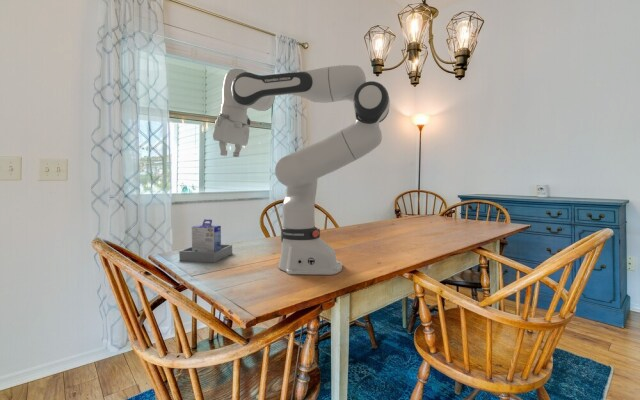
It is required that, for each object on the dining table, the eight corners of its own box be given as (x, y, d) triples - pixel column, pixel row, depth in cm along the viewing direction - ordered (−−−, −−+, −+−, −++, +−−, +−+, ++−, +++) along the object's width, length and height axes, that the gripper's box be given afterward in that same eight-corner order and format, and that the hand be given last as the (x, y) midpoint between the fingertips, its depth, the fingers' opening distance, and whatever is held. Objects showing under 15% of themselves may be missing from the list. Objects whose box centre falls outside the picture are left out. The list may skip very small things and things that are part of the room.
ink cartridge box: (222, 255, 132) (221, 219, 131) (215, 259, 127) (214, 221, 126) (199, 254, 134) (198, 218, 133) (191, 257, 129) (190, 220, 128)
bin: (232, 253, 136) (232, 245, 136) (214, 262, 122) (213, 253, 122) (200, 251, 139) (200, 243, 139) (179, 260, 125) (179, 251, 125)
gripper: (227, 112, 108) (223, 155, 109) (253, 122, 128) (249, 158, 129) (210, 111, 109) (206, 153, 111) (237, 120, 129) (234, 156, 131)
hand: (230, 156), depth 120 cm, fingers open, 8 cm apart
